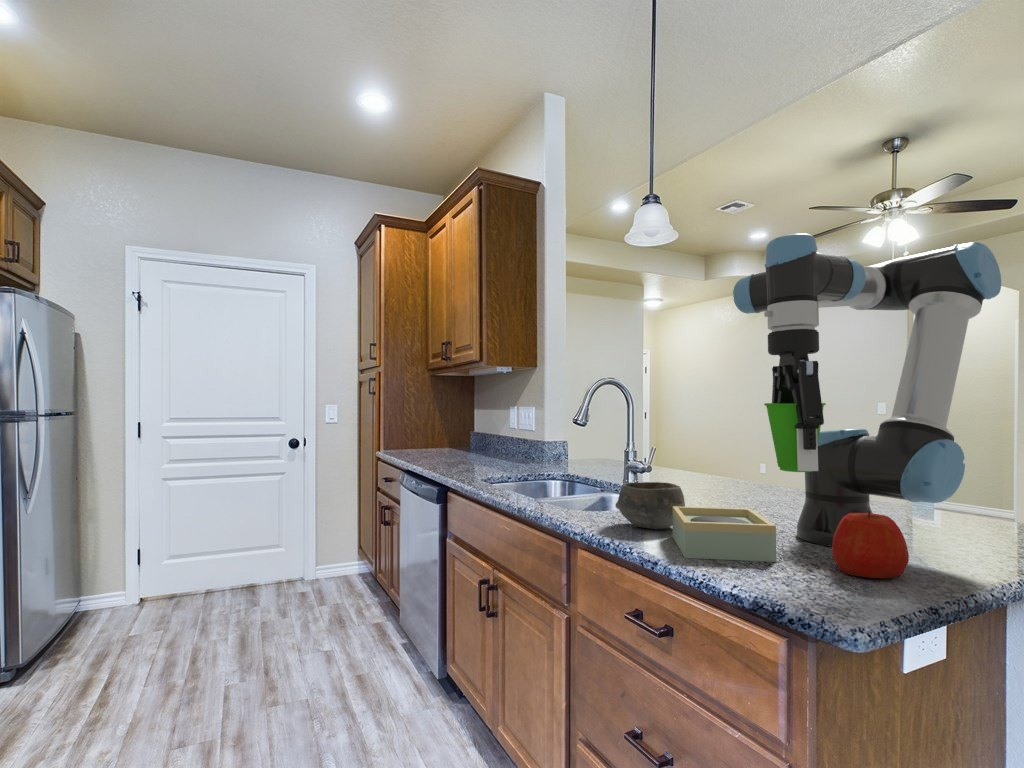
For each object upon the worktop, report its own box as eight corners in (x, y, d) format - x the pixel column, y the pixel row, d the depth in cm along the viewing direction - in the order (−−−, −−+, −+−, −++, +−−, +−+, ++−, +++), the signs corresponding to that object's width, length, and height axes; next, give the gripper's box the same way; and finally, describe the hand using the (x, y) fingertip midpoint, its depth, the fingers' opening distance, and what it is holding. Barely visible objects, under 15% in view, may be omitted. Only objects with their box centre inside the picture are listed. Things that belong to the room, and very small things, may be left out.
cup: (837, 474, 83) (835, 403, 83) (774, 473, 84) (772, 403, 85) (816, 467, 91) (814, 402, 92) (759, 466, 93) (758, 403, 94)
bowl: (693, 535, 117) (692, 489, 117) (622, 534, 117) (622, 488, 117) (674, 521, 131) (674, 480, 131) (611, 521, 131) (611, 479, 131)
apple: (881, 589, 83) (879, 519, 83) (816, 569, 93) (815, 507, 93) (923, 580, 87) (922, 514, 88) (857, 562, 97) (856, 503, 98)
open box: (751, 539, 113) (750, 508, 113) (776, 561, 97) (775, 525, 97) (672, 536, 115) (672, 506, 116) (684, 557, 99) (684, 522, 100)
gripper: (750, 338, 100) (753, 459, 99) (792, 321, 78) (796, 475, 78) (793, 337, 99) (796, 459, 98) (847, 319, 77) (852, 476, 77)
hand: (796, 466), depth 88 cm, fingers closed on cup, 9 cm apart
